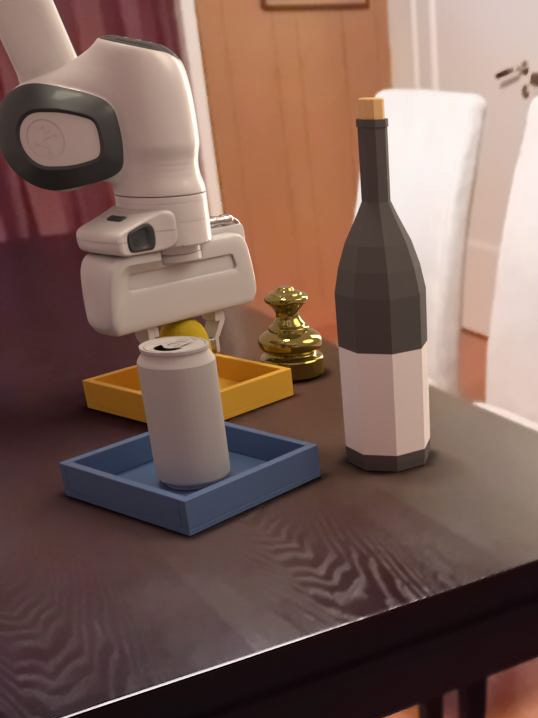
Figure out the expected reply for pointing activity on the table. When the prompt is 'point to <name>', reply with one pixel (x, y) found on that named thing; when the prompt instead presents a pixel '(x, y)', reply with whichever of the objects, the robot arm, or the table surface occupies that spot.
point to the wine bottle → (381, 319)
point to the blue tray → (190, 507)
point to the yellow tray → (236, 381)
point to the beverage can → (183, 411)
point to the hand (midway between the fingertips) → (186, 361)
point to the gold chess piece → (291, 336)
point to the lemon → (184, 329)
